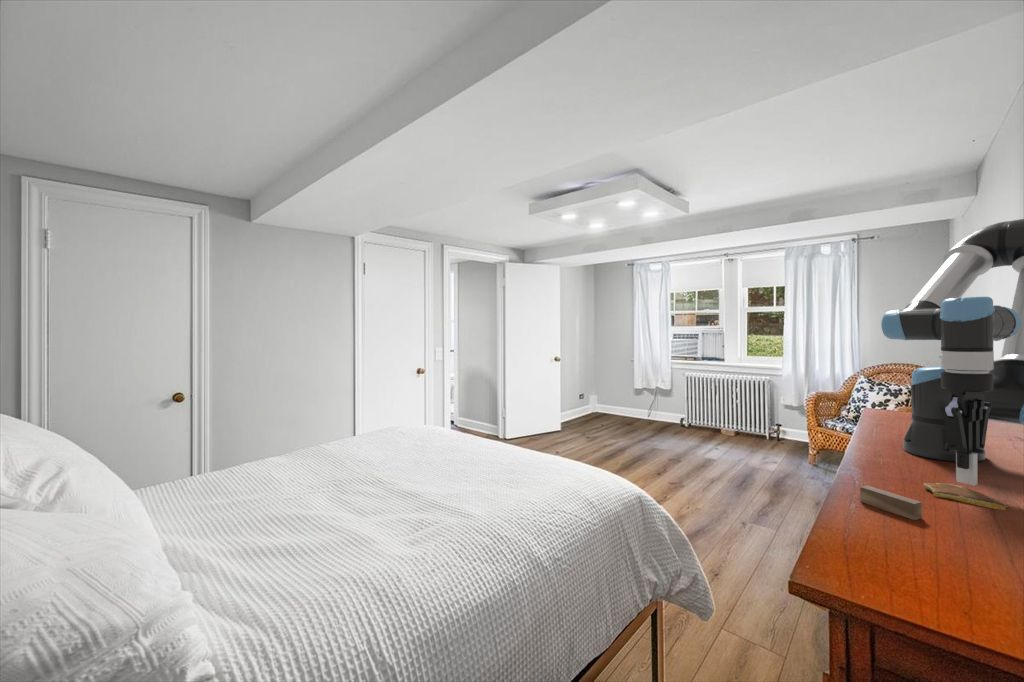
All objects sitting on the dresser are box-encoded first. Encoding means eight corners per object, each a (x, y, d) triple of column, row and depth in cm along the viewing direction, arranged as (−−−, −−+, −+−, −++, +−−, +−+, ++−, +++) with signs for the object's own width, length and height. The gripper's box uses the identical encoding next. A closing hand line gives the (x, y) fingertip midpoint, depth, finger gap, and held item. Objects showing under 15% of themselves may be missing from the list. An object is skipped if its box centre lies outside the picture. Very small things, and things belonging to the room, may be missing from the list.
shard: (1009, 514, 79) (1009, 504, 79) (961, 512, 80) (961, 503, 80) (959, 491, 90) (959, 482, 90) (917, 490, 91) (917, 482, 91)
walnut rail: (867, 499, 86) (867, 485, 86) (921, 518, 78) (921, 502, 78) (860, 501, 86) (860, 487, 86) (914, 520, 77) (914, 504, 77)
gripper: (961, 367, 95) (961, 472, 95) (924, 371, 90) (924, 481, 91) (1009, 370, 87) (1009, 484, 88) (971, 375, 83) (972, 494, 84)
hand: (966, 482), depth 90 cm, fingers closed
